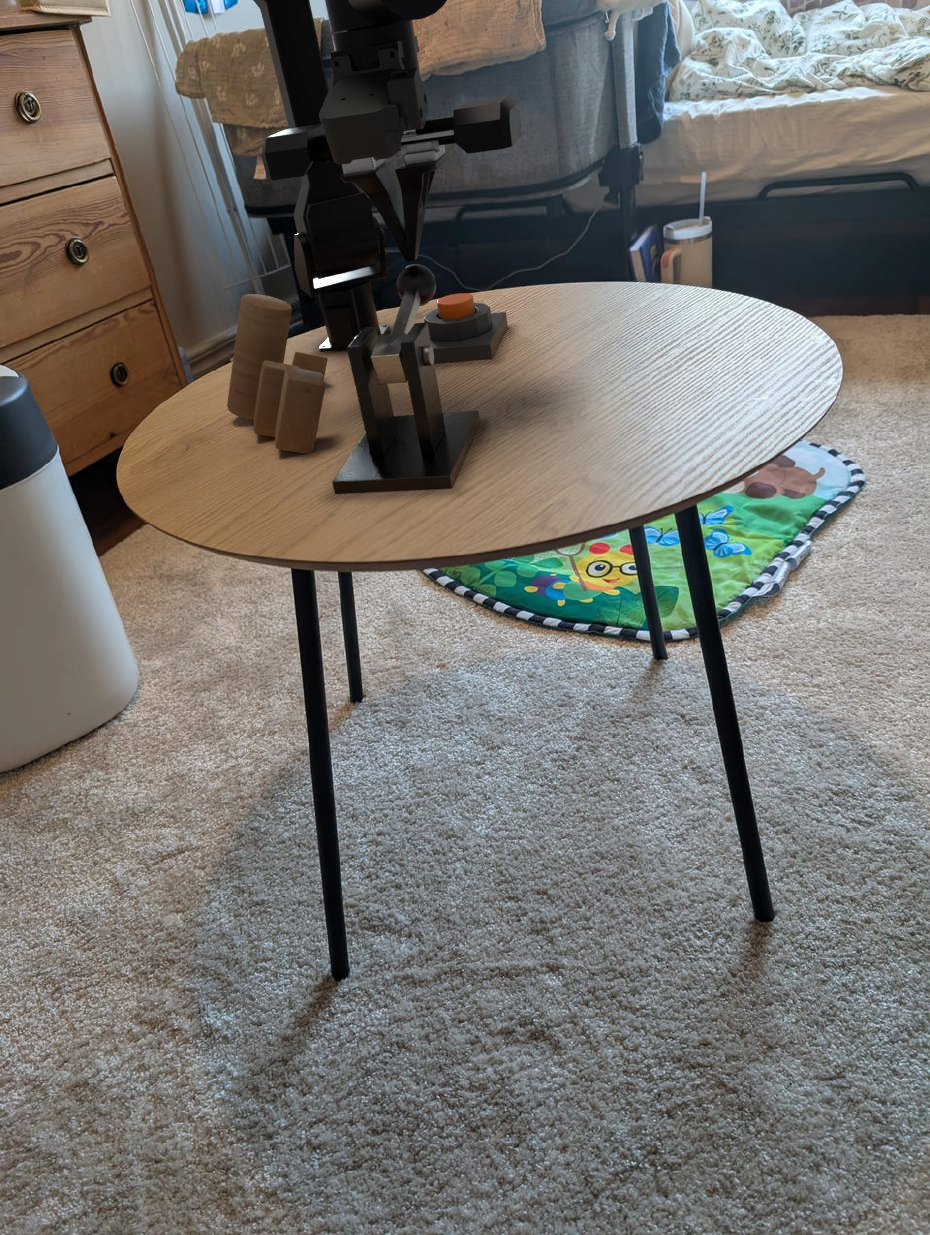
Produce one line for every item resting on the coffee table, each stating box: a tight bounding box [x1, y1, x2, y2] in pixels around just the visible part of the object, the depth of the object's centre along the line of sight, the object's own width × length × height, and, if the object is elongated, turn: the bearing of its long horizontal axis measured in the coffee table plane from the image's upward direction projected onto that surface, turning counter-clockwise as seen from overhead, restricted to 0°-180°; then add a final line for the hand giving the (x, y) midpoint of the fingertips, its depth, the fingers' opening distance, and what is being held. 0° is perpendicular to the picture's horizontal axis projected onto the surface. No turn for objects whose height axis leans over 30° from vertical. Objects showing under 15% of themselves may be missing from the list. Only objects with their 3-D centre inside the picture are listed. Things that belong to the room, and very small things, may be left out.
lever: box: [370, 263, 437, 385], centre depth 69 cm, size 13×3×3 cm, turn 169°
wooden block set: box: [226, 293, 328, 455], centre depth 78 cm, size 18×9×10 cm, turn 11°
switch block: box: [423, 302, 509, 365], centre depth 90 cm, size 10×8×4 cm
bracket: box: [331, 321, 481, 495], centre depth 68 cm, size 12×9×10 cm
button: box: [436, 292, 475, 320], centre depth 89 cm, size 4×4×2 cm
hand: (411, 260), depth 71 cm, fingers closed
